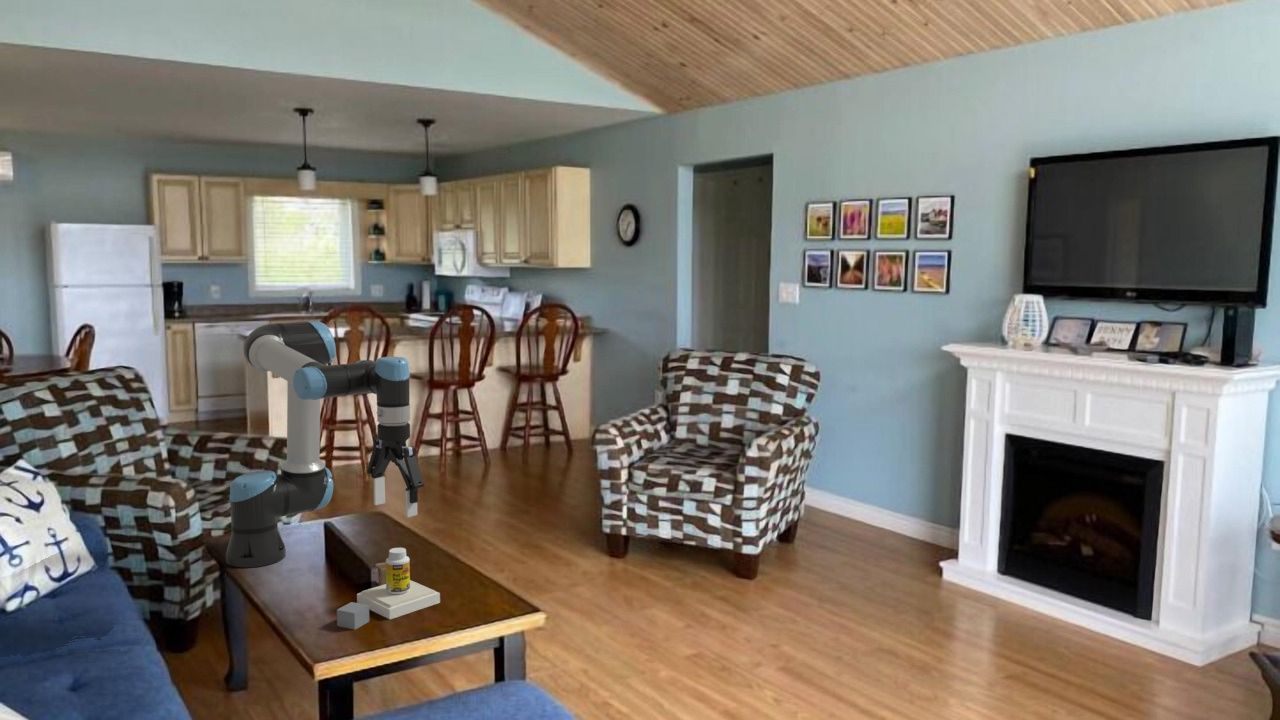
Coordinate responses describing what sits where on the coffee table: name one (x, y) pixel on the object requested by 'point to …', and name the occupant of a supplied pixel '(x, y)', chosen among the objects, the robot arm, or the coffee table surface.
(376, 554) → the coffee table surface
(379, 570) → the walnut block
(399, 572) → the supplement bottle
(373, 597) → the podium
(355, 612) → the grey matte cube
